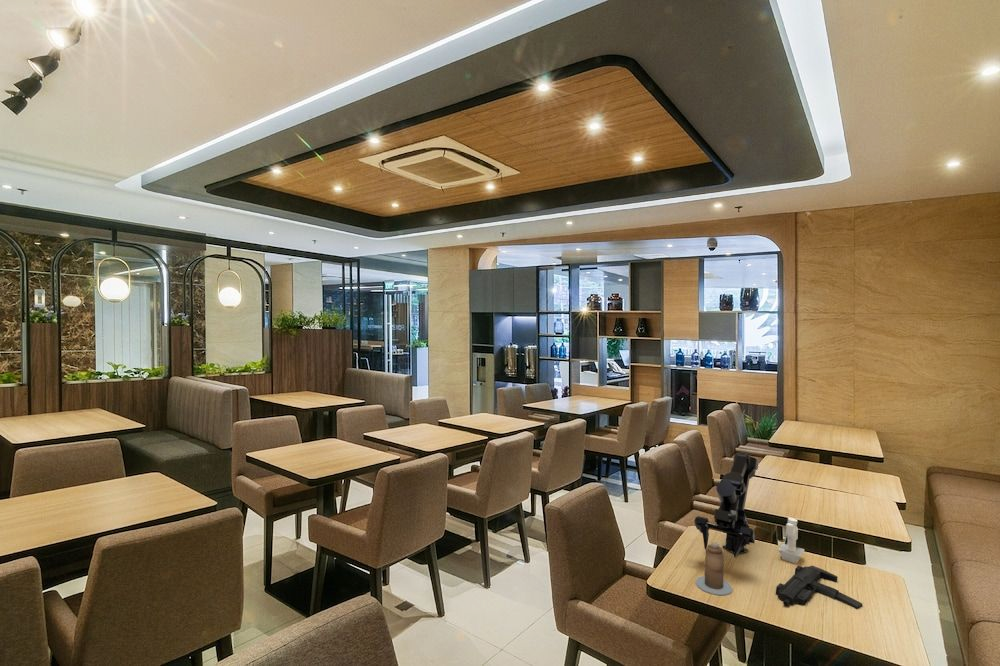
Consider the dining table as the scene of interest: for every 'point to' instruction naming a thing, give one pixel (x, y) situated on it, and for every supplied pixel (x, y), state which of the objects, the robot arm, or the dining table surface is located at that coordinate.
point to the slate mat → (724, 591)
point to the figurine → (791, 543)
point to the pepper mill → (714, 566)
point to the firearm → (811, 587)
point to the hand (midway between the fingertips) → (719, 552)
